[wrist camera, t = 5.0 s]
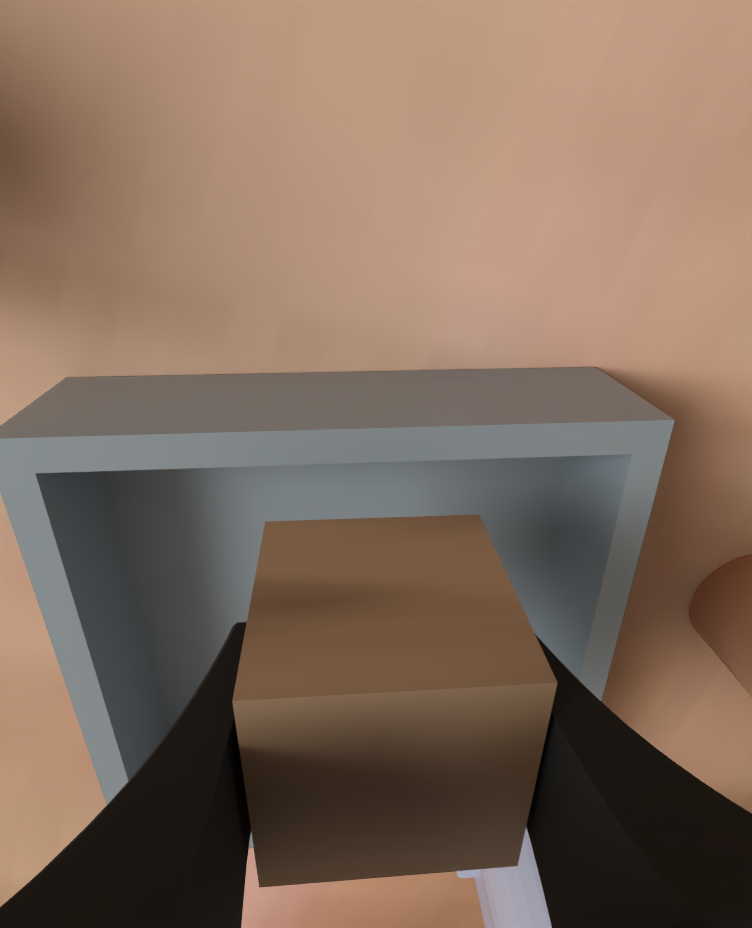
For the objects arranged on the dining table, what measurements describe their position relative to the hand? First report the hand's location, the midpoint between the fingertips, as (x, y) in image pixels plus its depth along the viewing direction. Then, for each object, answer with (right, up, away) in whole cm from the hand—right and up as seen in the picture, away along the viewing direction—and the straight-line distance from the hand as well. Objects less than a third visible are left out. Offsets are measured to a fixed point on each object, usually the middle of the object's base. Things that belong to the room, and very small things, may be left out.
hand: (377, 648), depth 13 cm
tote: (-1, -1, +10) cm, 10 cm away
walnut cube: (0, +1, +1) cm, 2 cm away
